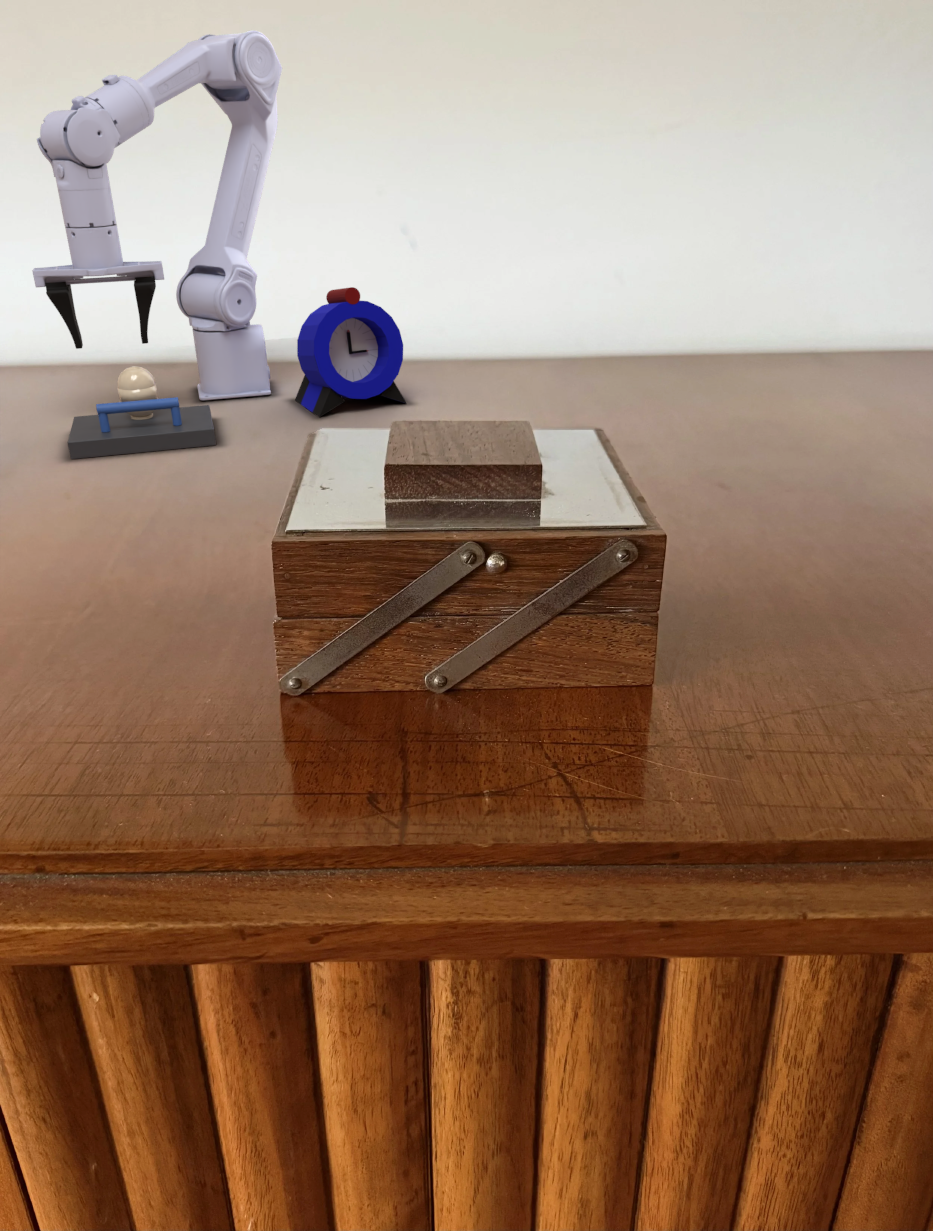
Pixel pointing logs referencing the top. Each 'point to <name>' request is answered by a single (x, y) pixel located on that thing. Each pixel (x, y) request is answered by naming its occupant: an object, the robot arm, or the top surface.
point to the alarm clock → (348, 353)
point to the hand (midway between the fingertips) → (112, 344)
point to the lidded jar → (137, 389)
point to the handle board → (140, 429)
